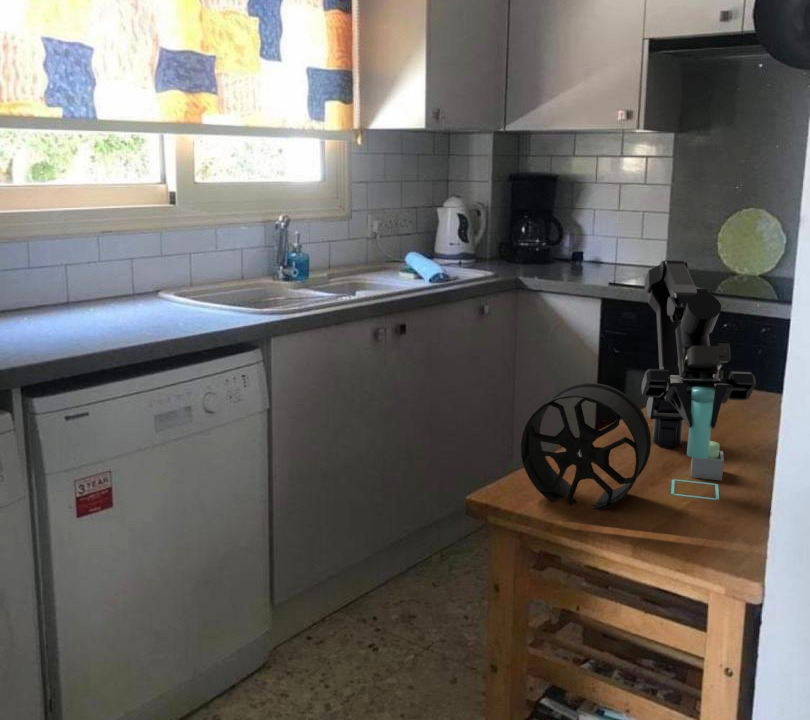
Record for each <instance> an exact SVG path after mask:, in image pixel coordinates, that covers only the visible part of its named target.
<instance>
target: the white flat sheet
mask: <svg viewBox="0 0 810 720" xmlns="http://www.w3.org/2000/svg"><path fill="white" fill-rule="evenodd" d="M676 482H684V483H694V484H702V485H712V486H714V488H715V498H714V497H707V496H706V497H704V496H697V495H688V494H681V493H680V494H679V493H675V483H676ZM670 491H671V492H670V495H671V496H680V497H687V498H696V499H704V500H714V501H720V494H719V492H720V491H719V484H718V483H711V482H702V481H693V480H685V479H684V480H683V479H675V478H672V479H671V489H670Z"/></svg>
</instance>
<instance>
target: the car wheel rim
mask: <svg viewBox="0 0 810 720" xmlns="http://www.w3.org/2000/svg"><path fill="white" fill-rule="evenodd" d="M570 398H579V401H578V402H577V403H576V404H575V405H574V406H573V408H574V409H573V410H574V413H575V419H576V422H577V426H578V432H579V436H578V437H576V436H575V435H574V433H573V431H572V430H571V427H570V423H569V420H568V418H567V415H566V411H565V407H564V405H563V404H560V403H558V402H556V401H558V400H564V399H570ZM585 402H590V403H592V404H593V403H594V404H598V405H599V406H601V407H603V408H605V409H606V410H608V411H609V412H611V413H612V414H613V415H614V417H615V421H614V422H613V423H611V424H610V425H608V426H606V427H604V428H603V429H599V430H598V429H596V428H595V427H594V428H593V427H591V426H590V425H589V424H587V423H586V420H585V415H584V411H583V406H582V404H583V403H585ZM550 406H551V407H552V408H553V407H554V408H557V409H558V411H559V414H560V417H561V420H562V424H563V428H562V429H561V431H560V432H558V433H557V434H555V435H547V434H543V433H541V425H542V421H543V418H544V415H545V414H546V412H547V410H548V408H549V407H550ZM620 420H622V421H623V423H624V424H625V425H626V427H627V428H628V431H629V433H630V434H631V436H632V439H630V438H629V437H627V436H625V437H623V438H620V439H618V440H616V441H614V442H612V443H610V444H608V445H606V446H604V447H602V446H595V445H594V443H595V442H596V440H597V439H599V438H601V437H603V436H605V435H606V434H608V433H609V432H612V431H613V430H615V429H616V428H617V427H619V426H620V422H621V421H620ZM542 443H548V444H552V445H558V446H560V447H562V448H563V449H565V451H560V452H556V451H555V452H554V451H547V450H546V451H545V450H543V448H542V446H543V445H542ZM624 444H627V445H629V446H630V447H631V448H632V449H633V450H634V453H635V456H634V457H635V465H634V466H635V467H634V473H633V475H632V476H629V477H627V478H626V477H624V476H622V475H621V474H620V473H619V472H618V471H616V469H614V468H613V467H612V466H611V465H610V454H611V450H614V449H615V448H617V447H620V446H621V445H624ZM651 448H652V436H651V430H650V425H649V423H648V421H647V419H646V417H645V414H644V412H643V410H642V409H641V408H640V407H639V406H638V405H637V403H636V402H635V401H634V400H633V399H632V398H631V397H630V396H628V395H626V393H624V392H622V391H621V390H619V389H618V388H615V387H612V386H610V385H608V384H601V383H597V382H596V383H595V382H585V383H577V384H574V385H571V386H569V387H566V388H565V389H563V390H562V391H560V392H559V393H557V394H556V395H555V396H553V397H552V398H551V399H550V400H548V401H547V402H545V403H544V404H542V405H541V406H540V407H539V408H538V409H537V410H536V411H535V412H534V413H532V415H531V417H530V418H529V420H528V421H527V423H526V425H525V427H524V429H523V432H522V435H521V442H520V454H521V456H520V457H521V460H522V464H523V468H524V471H525V473H526V475H527V477H528V479H529V481H530V482H531V483H532V484H533V486H534V487H535V489H536V490H537V491H538V492H539V493H540V494H541V495H542V496H543V497H544V498H545V499H547V500H549V501H550V502H552V503H556V502H557V501H558V499H564V498H565V497H566V500H567V502H568V504H569V506H573V504H576V503H577V501H576V499H575V494H576V491H577V488H578V485H579V482H580V481H583V480H590V479H591V480H593V481H595V482H596V484H597V485H598V486H600V487H601V488H602V489H603V490H604V492H603V493H602V494H601V496H600V497H599V498H598V500H597V501H596V503H595V504H590V506H591V507H592V508H591V509H592V510H596V511H603V510H605V509H608V508H610V507H612V506H614V505H615V504H617V503H618V502H620V501H622V499H623V498H624V497H625V496H626V495H627V494H628V493H629V491H630V490H631V489H632V487H633V486H634V484H635V483H636V481H637V479H638V478H639V476H640V475H641V473H642V472H643V471H644V469H645V468H646V466H647V463H648V460H649V458H650V455H651ZM547 457H550V458H551V459H553V460H554V462H555V464H556V465H557V467H558V469H559V472H557V471H556V470H555V469H554V468H553V467H552V466H551V464H550V462H549V461H548V460H547ZM592 463H593V464H595V465H596V466H597V467H599V468H600V469H601V470H602V472H604V473H606V474H607V475H608V476H609V477H611V479H612V480H614V481H615V482H616V483H617V484H618V485H622V486H620V487H618V488H614V489H613V488H611V487H612V486H609V484H608V483H606V481H605V480H603V479H602V478H601V477H600V475H598V474H597V473H596V472H595V470H594V468H593V464H592ZM571 466H575V473H574V478H573V480H572V484H570V483H569V482H568V481H567V480H566V479H564V476H565V473H566V471H567V469H568V468H570V467H571Z"/></svg>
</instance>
